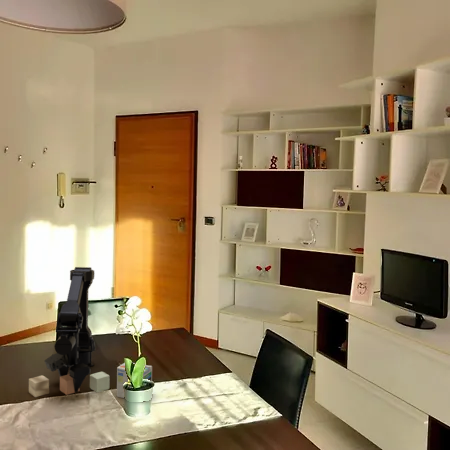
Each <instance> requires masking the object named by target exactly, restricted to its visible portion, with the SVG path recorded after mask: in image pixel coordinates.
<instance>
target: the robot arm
mask: <svg viewBox="0 0 450 450" xmlns="http://www.w3.org/2000/svg"><path fill="white" fill-rule="evenodd" d="M94 279H95V270H94V269H92V267H89V266H88V267H85V266H75V267H74V269H71V270H69V280H70V285H69V290H68V294H67V298H66V301H65V303H64V304H63V305H62V306H61V308H60V312H58V315H57V321H56V327H55V333H59V337H58V339H57V340H56V342H55V343H54V350H55V352H56V353H52V355H50V356H48V357H47V358H46V359H45V360H44V364H45V365H46V368H47V369H48V370H50V372H55V371H57V372H58V375H59V378H60V377H61V376H65V375H68V374H70V375H69V376H70V377H71V378H73V385H74V392H75V393H77V392H79V391H78V390H79V388H80V389H81V386H82V385H83V381H84V380H85V378H86V377H87V376H88V375H91V367H93V366H95V365H94V363H92V355H93V354H92V353H93V352H95V351H96V342H95V339H94V336H93V335H92V334H93V333H92V330H91V329H90V327H89V289H90V288H91V286H92V284H93V282H94V281H93V280H94Z"/></svg>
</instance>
